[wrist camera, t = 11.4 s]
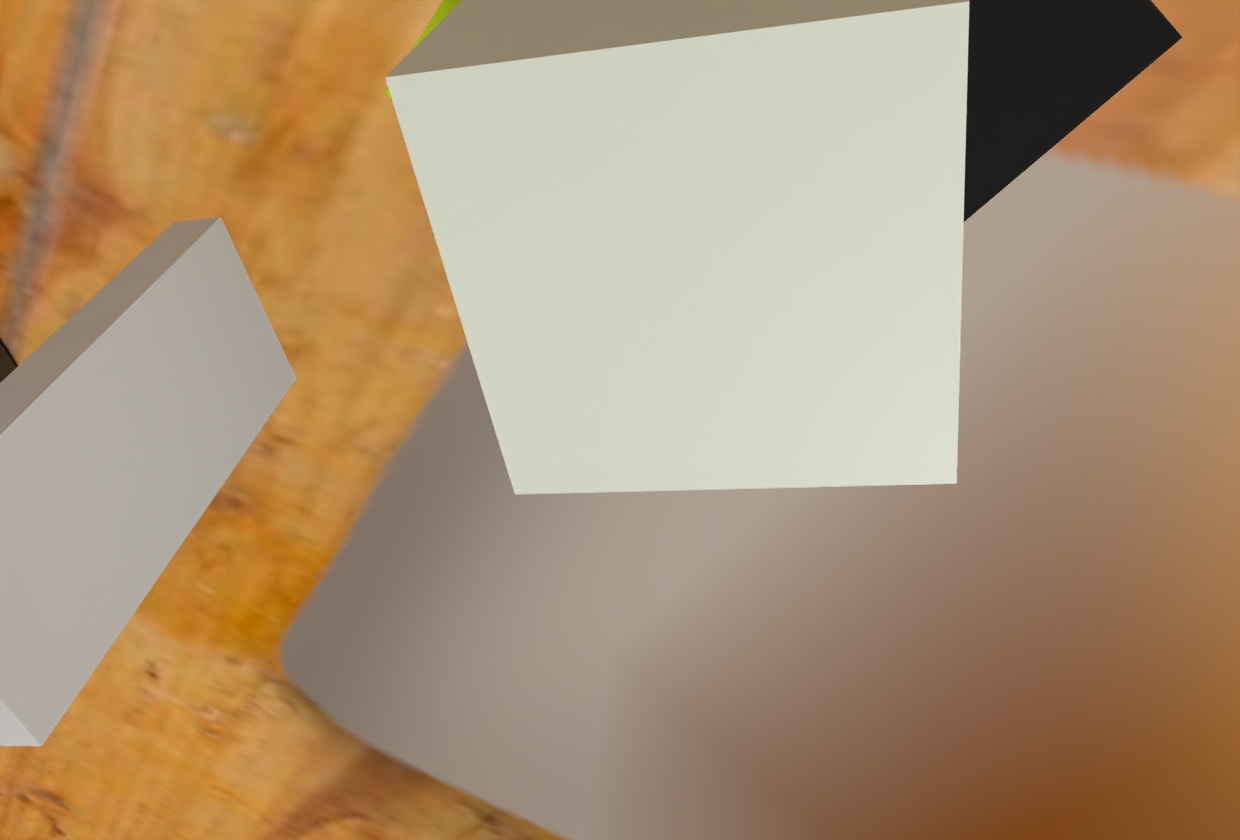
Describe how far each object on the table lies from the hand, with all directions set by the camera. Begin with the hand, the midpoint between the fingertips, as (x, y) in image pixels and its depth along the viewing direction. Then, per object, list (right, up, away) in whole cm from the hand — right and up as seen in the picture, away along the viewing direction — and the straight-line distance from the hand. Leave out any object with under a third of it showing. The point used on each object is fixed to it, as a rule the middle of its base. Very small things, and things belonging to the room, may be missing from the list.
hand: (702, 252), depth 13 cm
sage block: (+1, +4, +5) cm, 7 cm away
